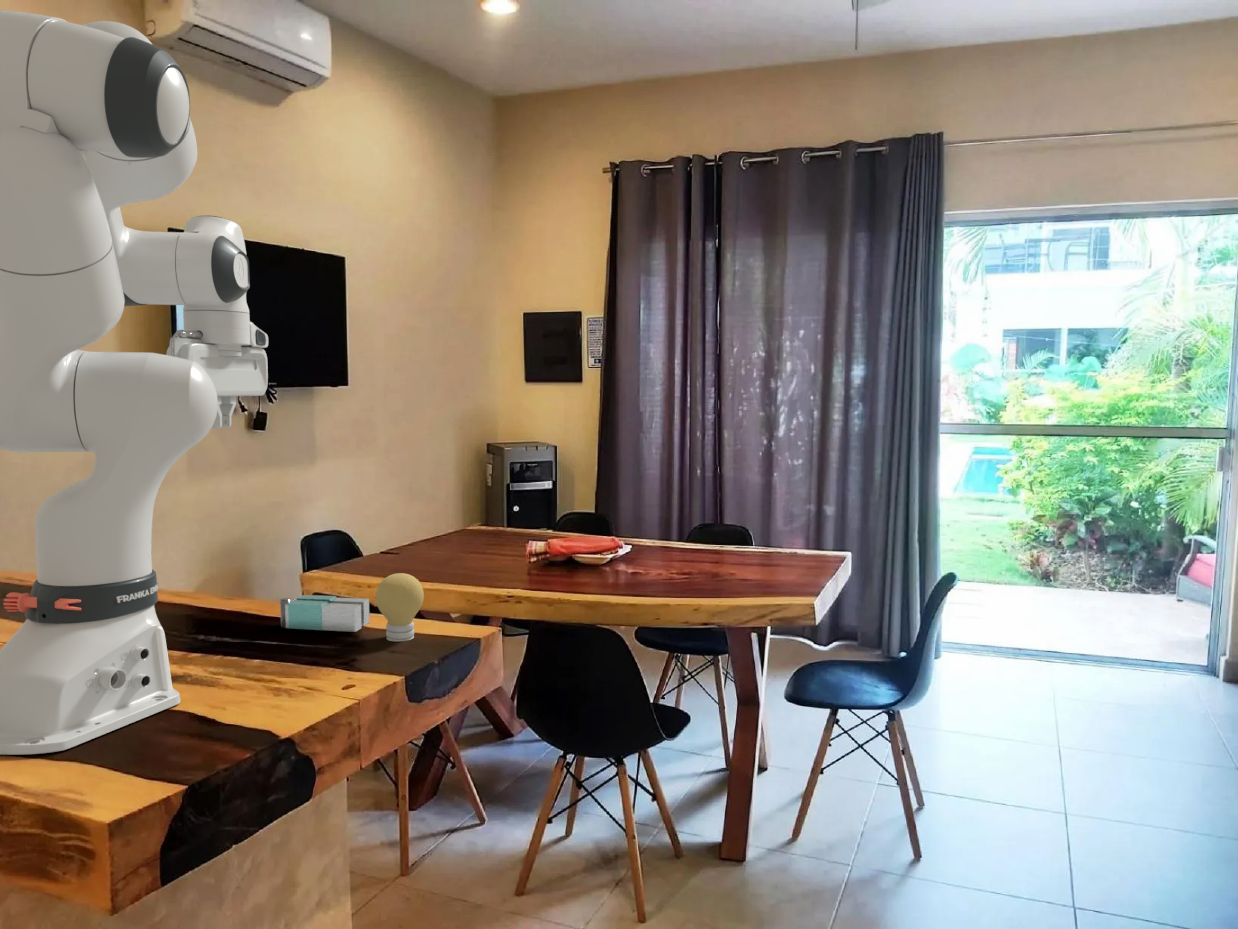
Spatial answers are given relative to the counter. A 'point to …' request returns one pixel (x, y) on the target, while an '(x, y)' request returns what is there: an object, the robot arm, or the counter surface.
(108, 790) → the counter surface
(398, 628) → the light bulb
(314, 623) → the tongs fixed arm
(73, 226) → the robot arm
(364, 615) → the tong arm
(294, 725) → the counter surface
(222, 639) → the counter surface
